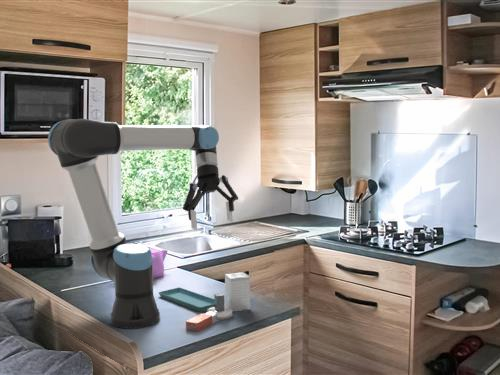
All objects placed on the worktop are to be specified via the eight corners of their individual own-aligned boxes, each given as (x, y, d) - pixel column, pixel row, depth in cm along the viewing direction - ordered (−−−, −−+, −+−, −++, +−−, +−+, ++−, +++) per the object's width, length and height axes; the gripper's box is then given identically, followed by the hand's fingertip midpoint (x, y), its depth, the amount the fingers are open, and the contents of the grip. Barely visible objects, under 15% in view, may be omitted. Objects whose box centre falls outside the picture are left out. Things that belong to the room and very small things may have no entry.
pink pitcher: (116, 282, 231) (115, 251, 230) (128, 271, 248) (127, 242, 246) (159, 282, 230) (158, 251, 228) (168, 271, 246) (167, 242, 245)
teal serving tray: (157, 297, 210) (157, 291, 209) (179, 292, 216) (179, 286, 215) (200, 314, 190) (200, 307, 190) (222, 308, 196) (222, 301, 195)
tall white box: (231, 311, 191) (230, 278, 190) (225, 306, 197) (224, 274, 196) (250, 309, 193) (249, 276, 192) (243, 303, 199) (243, 272, 198)
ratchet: (202, 332, 172) (201, 309, 171) (180, 328, 176) (180, 305, 175) (237, 314, 188) (236, 293, 187) (216, 310, 192) (215, 290, 191)
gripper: (243, 162, 207) (249, 220, 200) (181, 178, 215) (185, 234, 208) (235, 155, 200) (241, 214, 193) (171, 172, 209) (174, 229, 201)
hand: (212, 225), depth 201 cm, fingers open, 13 cm apart
